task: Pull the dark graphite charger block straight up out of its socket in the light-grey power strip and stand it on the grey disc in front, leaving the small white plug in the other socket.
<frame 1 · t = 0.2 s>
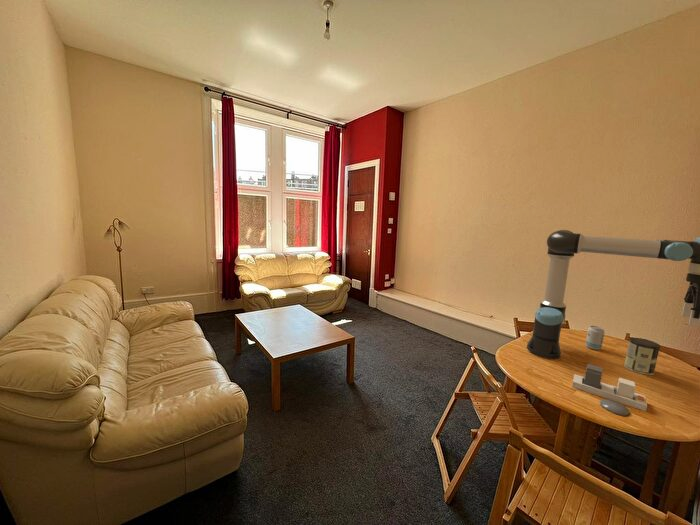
hand: (689, 321, 124), 28 cm above the table, fingers open, 13 cm apart
white plug: (624, 395, 112), point 2 cm above the table, touching strip
strip: (606, 393, 116), on the table
coffee can: (638, 369, 136), on the table
grey disc: (614, 408, 107), on the table
beverage can: (593, 348, 158), on the table
charger: (591, 385, 119), point 2 cm above the table, touching strip
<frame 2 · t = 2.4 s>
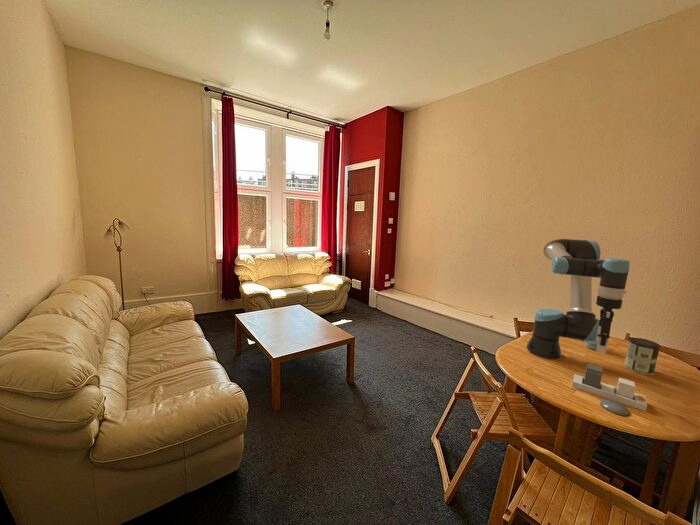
hand: (600, 347, 116), 19 cm above the table, fingers open, 13 cm apart
nothing on the table moved.
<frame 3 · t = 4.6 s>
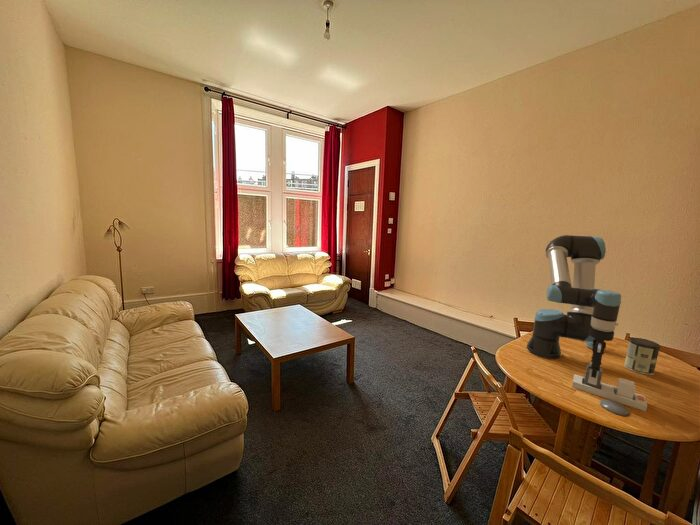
hand: (592, 380, 118), 4 cm above the table, fingers closed on charger, 5 cm apart
charger: (591, 385, 119), point 2 cm above the table, touching gripper, strip
everything else where it was.
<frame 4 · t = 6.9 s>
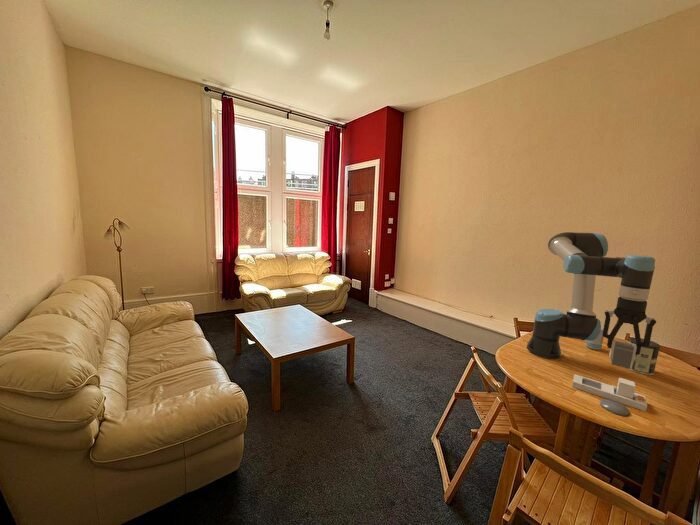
hand: (621, 359, 105), 20 cm above the table, fingers closed on charger, 5 cm apart
charger: (619, 364, 105), point 17 cm above the table, touching gripper
everything else where it was.
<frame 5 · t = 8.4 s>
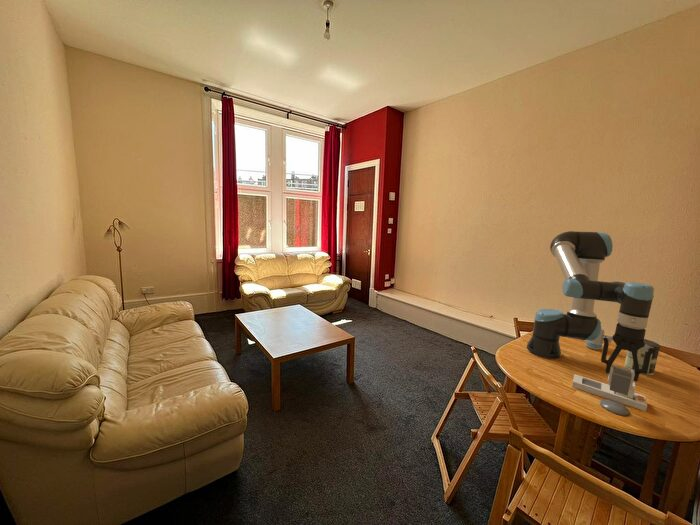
hand: (619, 384, 105), 10 cm above the table, fingers closed on charger, 5 cm apart
charger: (618, 389, 105), point 8 cm above the table, touching gripper
everything else where it was.
when the fingers open (5 cm above the table, at t = 9.5 s): charger drops 2 cm, resting on grey disc.
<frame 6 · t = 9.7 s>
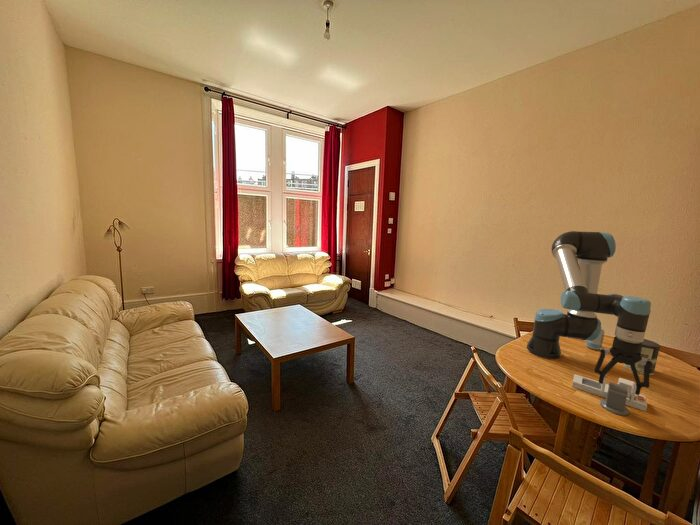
hand: (616, 396, 106), 5 cm above the table, fingers open, 7 cm apart
charger: (614, 406, 107), point 1 cm above the table, touching grey disc
everything else where it was.
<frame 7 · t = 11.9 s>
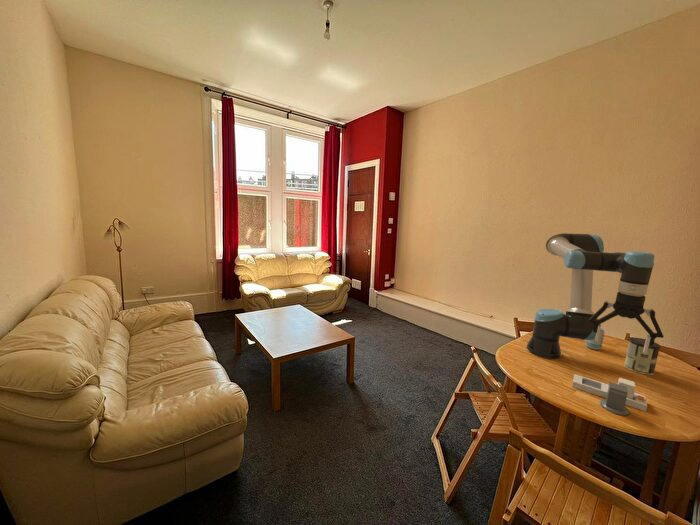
hand: (619, 346, 108), 23 cm above the table, fingers open, 13 cm apart
nothing on the table moved.
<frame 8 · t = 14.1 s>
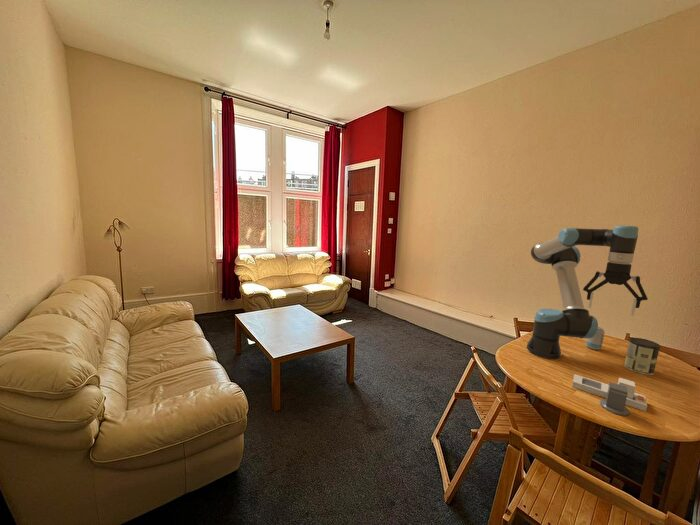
hand: (610, 311, 122), 32 cm above the table, fingers open, 13 cm apart
nothing on the table moved.
at the end: charger inside the target area on the grey disc (0.0 cm from its centre), point 0.8 cm above the grey disc's base; charger tilted 0°; white plug moved 0.0 cm from its start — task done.
